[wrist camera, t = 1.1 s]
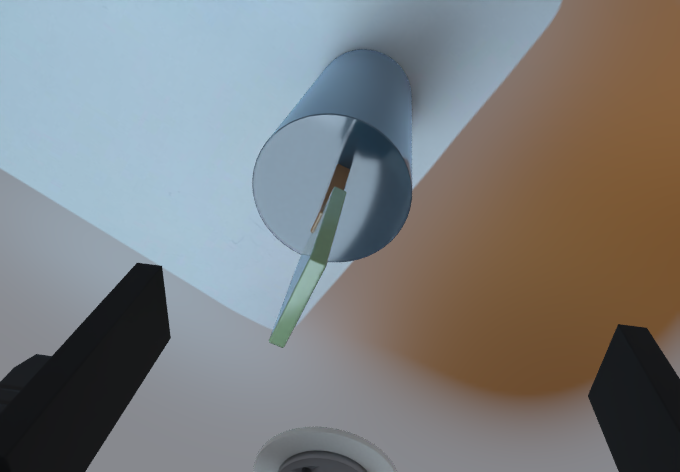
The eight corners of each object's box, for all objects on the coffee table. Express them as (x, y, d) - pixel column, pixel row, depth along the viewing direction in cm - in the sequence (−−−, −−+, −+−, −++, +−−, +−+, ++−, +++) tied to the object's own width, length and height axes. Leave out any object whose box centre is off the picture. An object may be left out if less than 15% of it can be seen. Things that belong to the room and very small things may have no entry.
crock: (385, 160, 50) (346, 451, 20) (301, 121, 49) (135, 365, 20) (429, 76, 46) (463, 288, 16) (339, 31, 45) (197, 168, 15)
